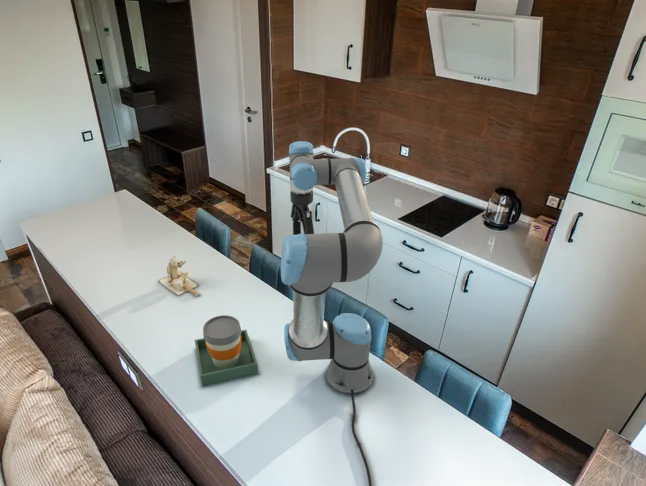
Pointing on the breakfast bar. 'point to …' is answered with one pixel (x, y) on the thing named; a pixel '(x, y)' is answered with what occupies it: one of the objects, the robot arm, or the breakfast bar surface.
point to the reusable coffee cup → (223, 340)
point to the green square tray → (242, 369)
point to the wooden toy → (178, 279)
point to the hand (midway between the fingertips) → (302, 247)
